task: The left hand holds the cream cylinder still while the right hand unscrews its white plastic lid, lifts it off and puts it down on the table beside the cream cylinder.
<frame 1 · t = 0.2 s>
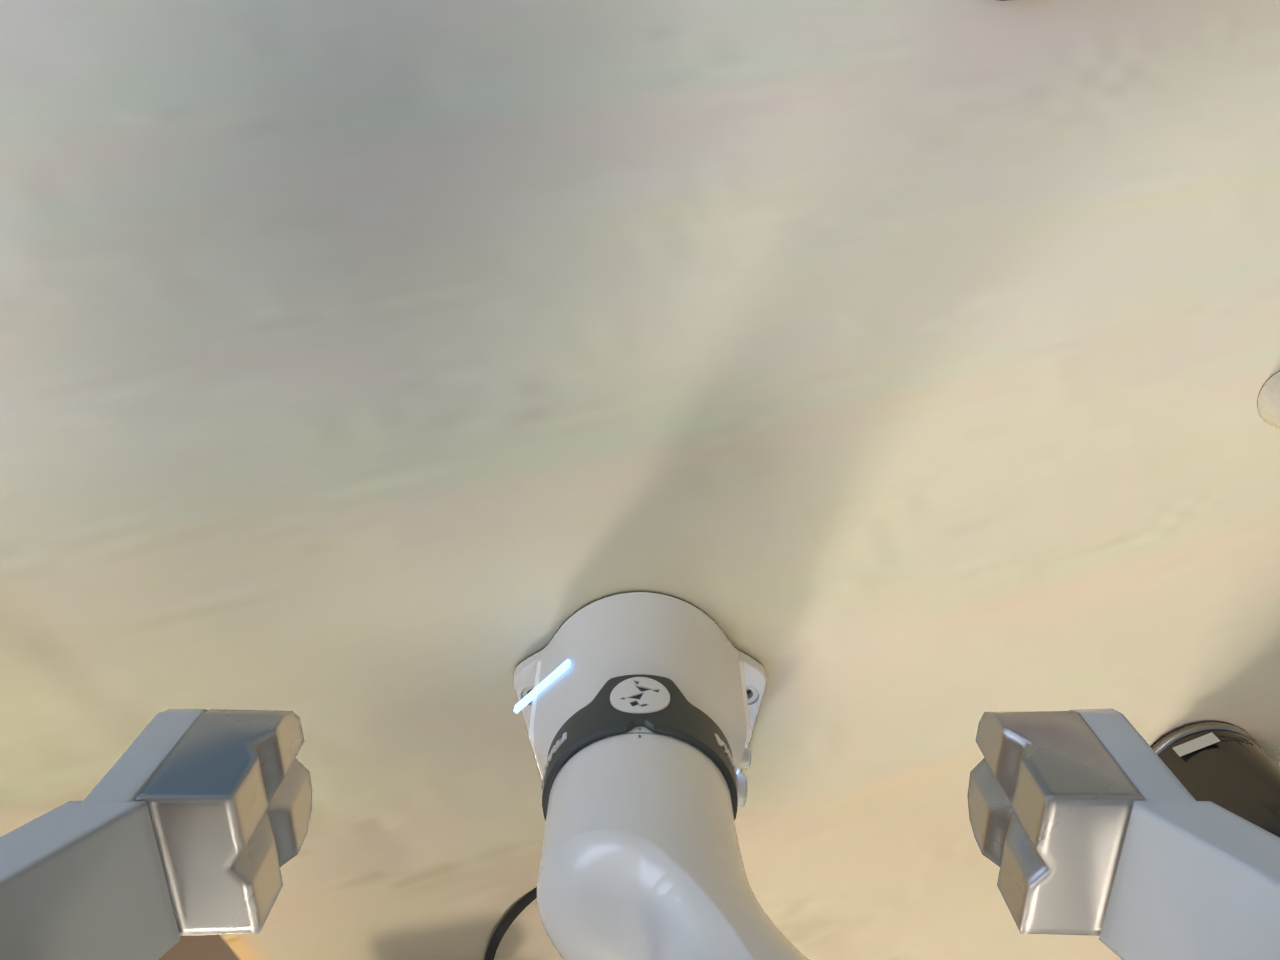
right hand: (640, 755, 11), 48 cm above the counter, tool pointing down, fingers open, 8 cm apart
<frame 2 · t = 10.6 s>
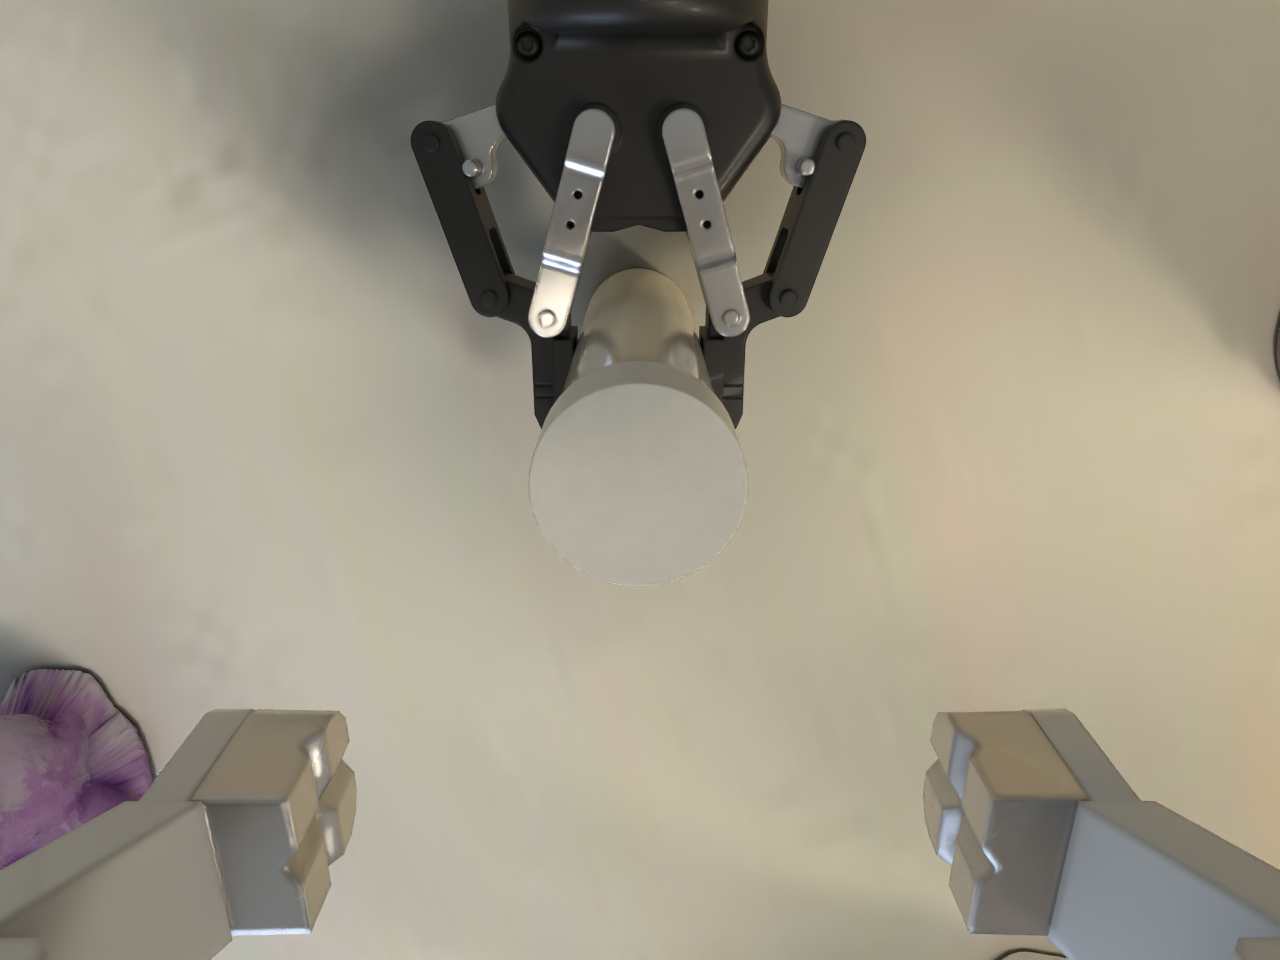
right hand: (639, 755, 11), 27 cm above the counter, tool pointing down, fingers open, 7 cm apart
cream cylinder: (638, 321, 36), on the counter, touching left hand
lid: (638, 483, 19), point 18 cm above the counter, screwed on, not yet turned
figurine: (65, 741, 43), on the counter
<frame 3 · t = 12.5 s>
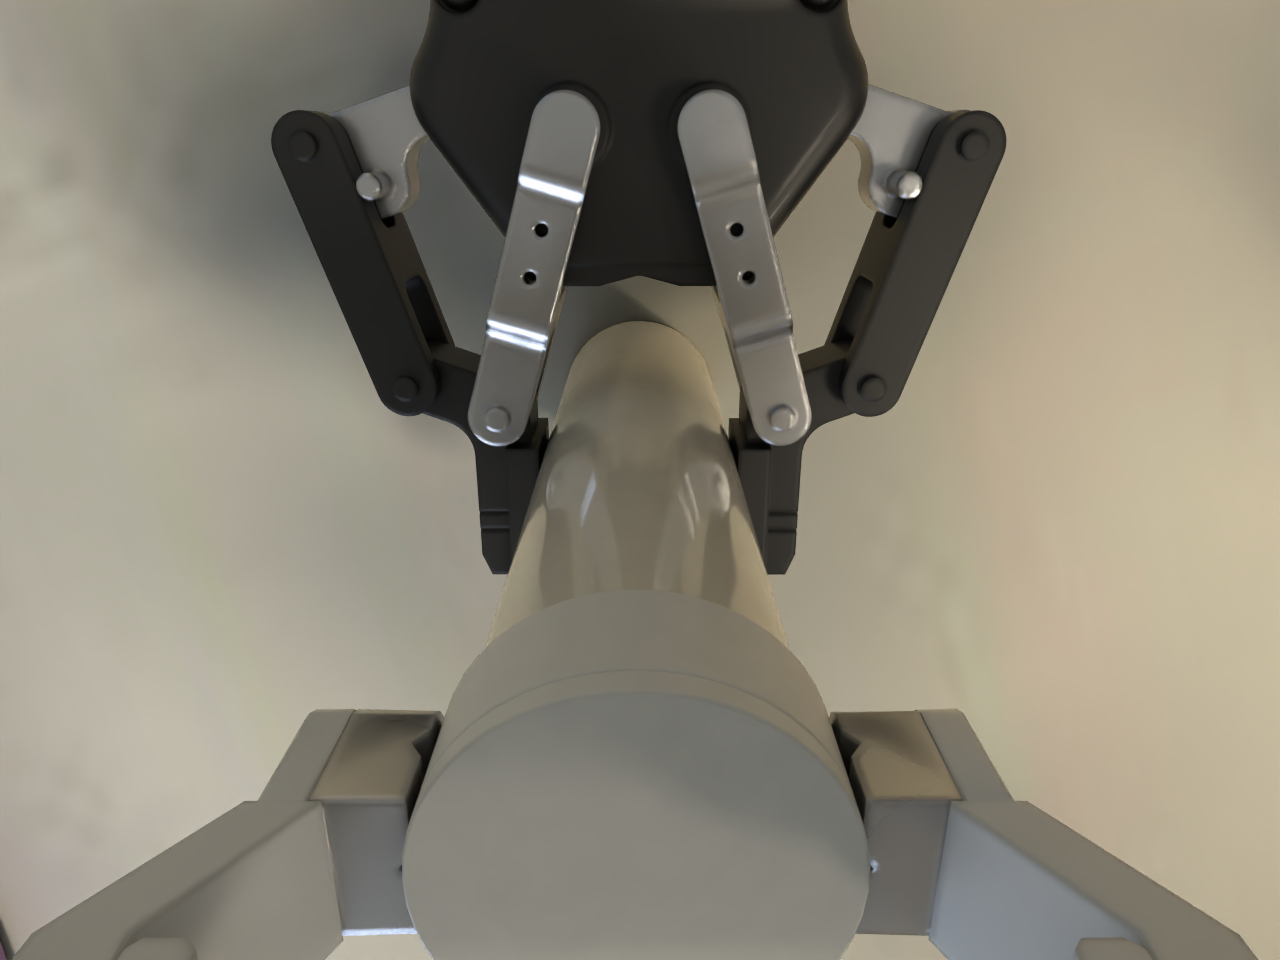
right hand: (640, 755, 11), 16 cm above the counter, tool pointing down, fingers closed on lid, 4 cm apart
left hand: (640, 579, 21), fingers closed on cream cylinder, 4 cm apart
cream cylinder: (639, 392, 26), on the counter, touching left hand
lid: (636, 861, 9), point 18 cm above the counter, screwed on, not yet turned, touching right hand
when the right hand's fingers open (16 cm above the counter, at t = 13.7 s): lid stays where it is, point 18 cm above the counter.
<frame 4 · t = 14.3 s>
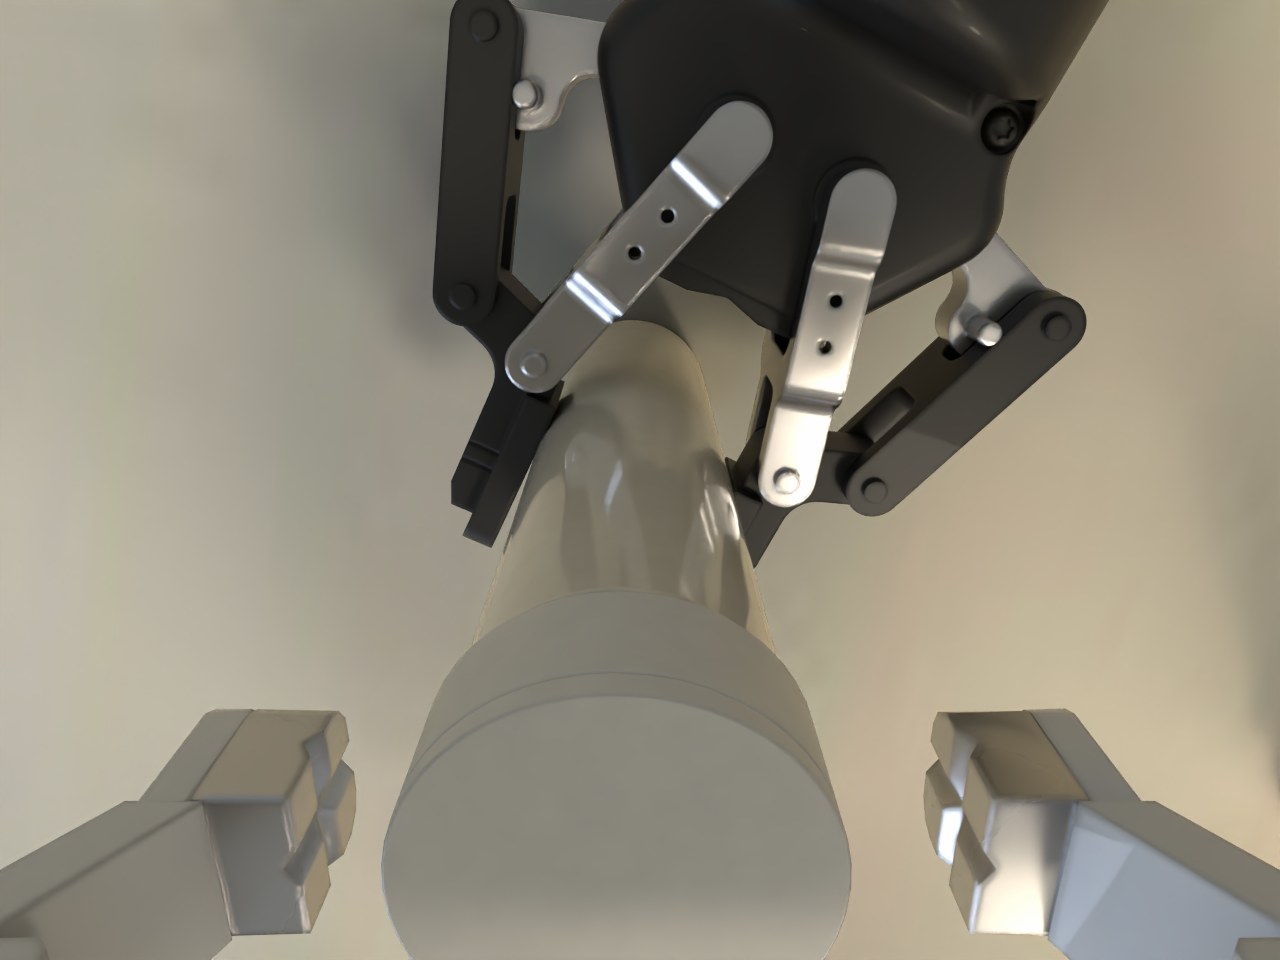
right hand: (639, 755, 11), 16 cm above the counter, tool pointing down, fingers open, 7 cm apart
cream cylinder: (632, 390, 26), on the counter, touching left hand
lid: (617, 864, 9), point 18 cm above the counter, turned 65° so far, risen 0.2 cm, still on its thread
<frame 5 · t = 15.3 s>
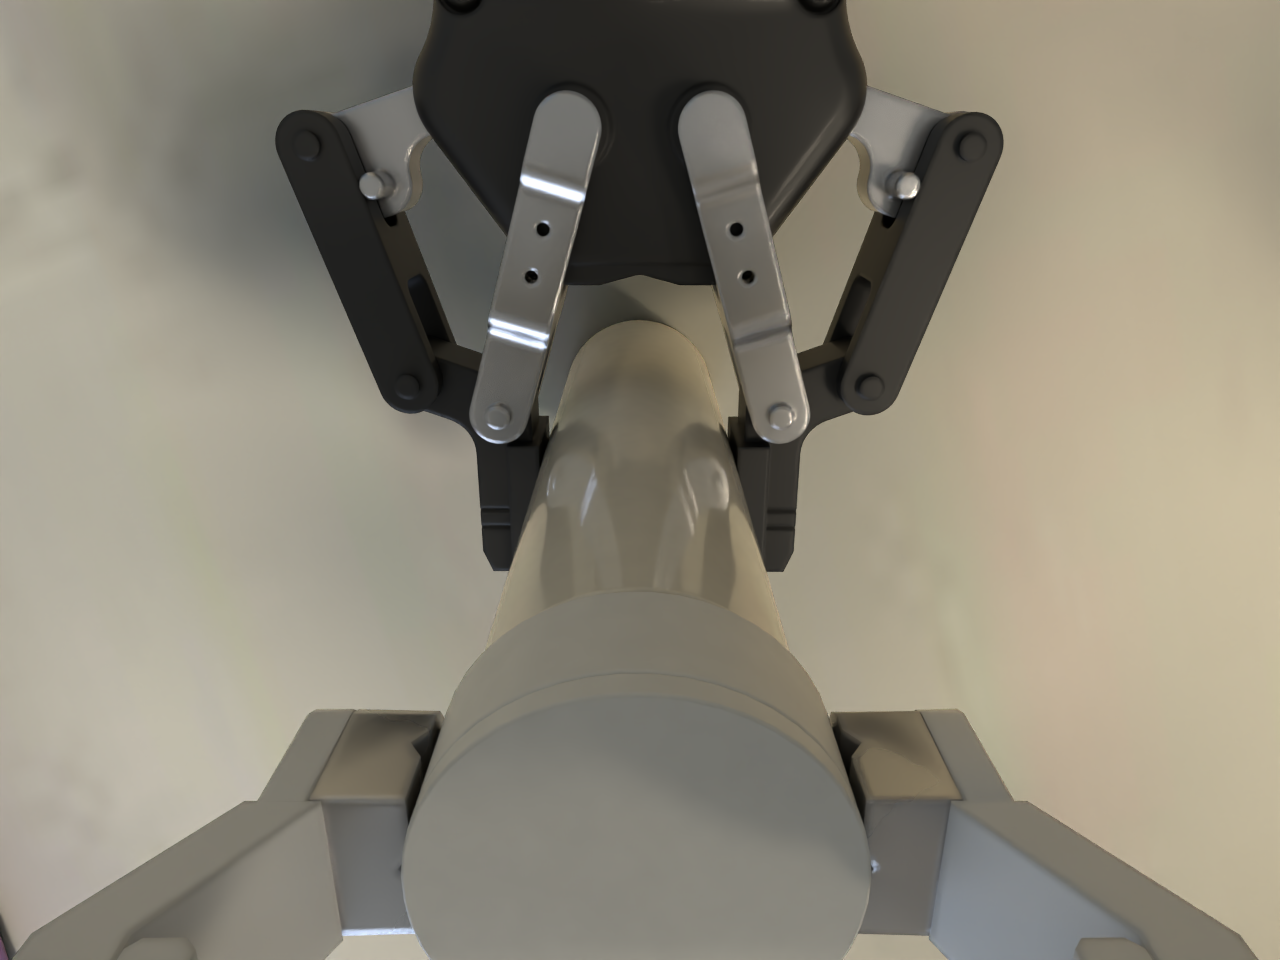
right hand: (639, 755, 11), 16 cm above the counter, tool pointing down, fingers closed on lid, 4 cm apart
cream cylinder: (638, 391, 26), on the counter, touching left hand
lid: (636, 865, 9), point 18 cm above the counter, turned 65° so far, risen 0.2 cm, still on its thread, touching right hand
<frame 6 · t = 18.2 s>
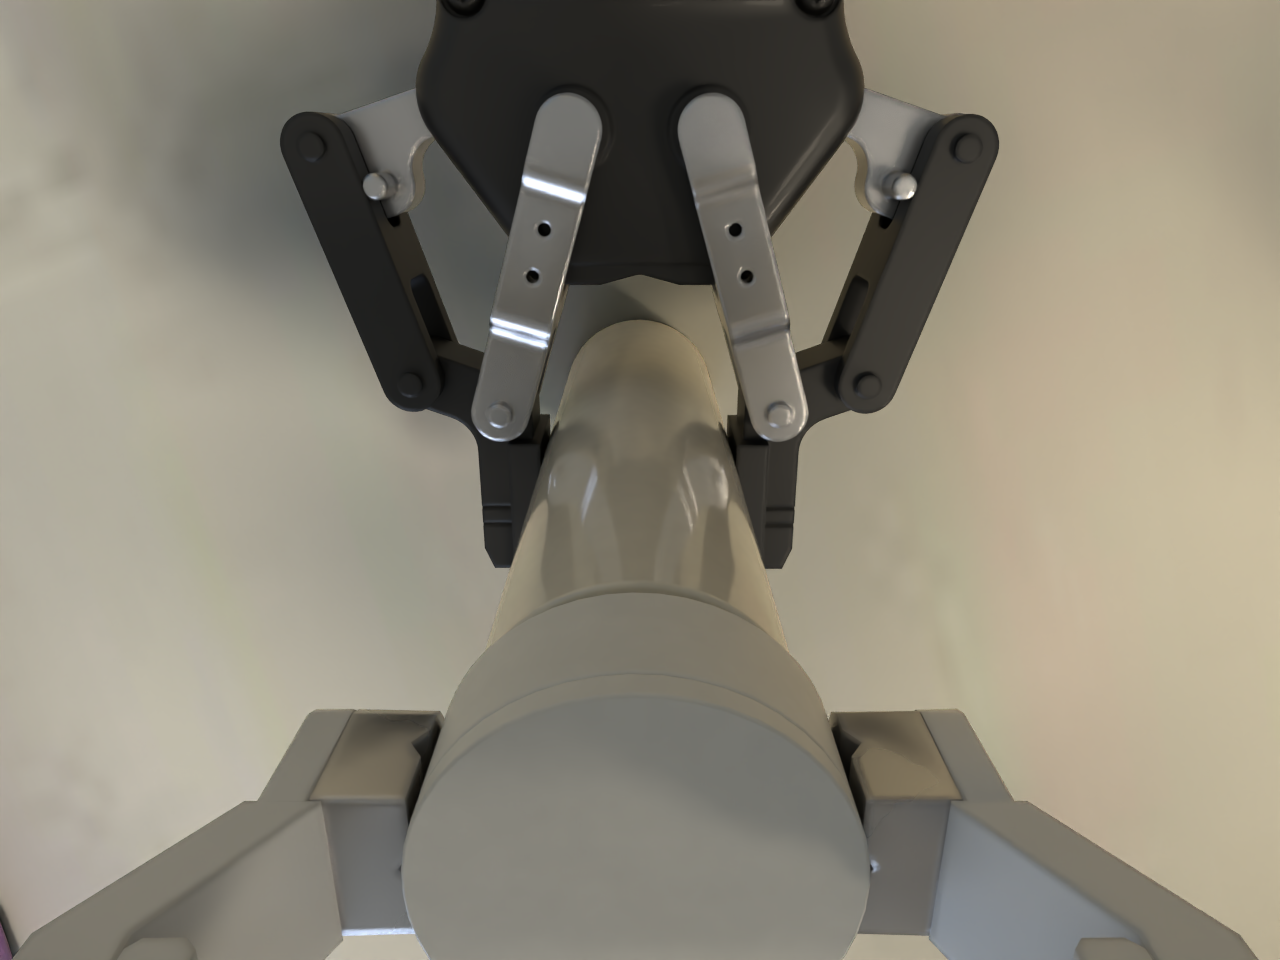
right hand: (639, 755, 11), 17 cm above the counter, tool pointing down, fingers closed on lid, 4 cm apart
cream cylinder: (639, 390, 26), on the counter, touching left hand
lid: (635, 865, 9), point 18 cm above the counter, turned 131° so far, risen 0.4 cm, still on its thread, touching right hand
when the right hand's fingers open (2 cm above the counter, at t = 25.2 s): lid drops 2 cm, point 2 cm above the counter.
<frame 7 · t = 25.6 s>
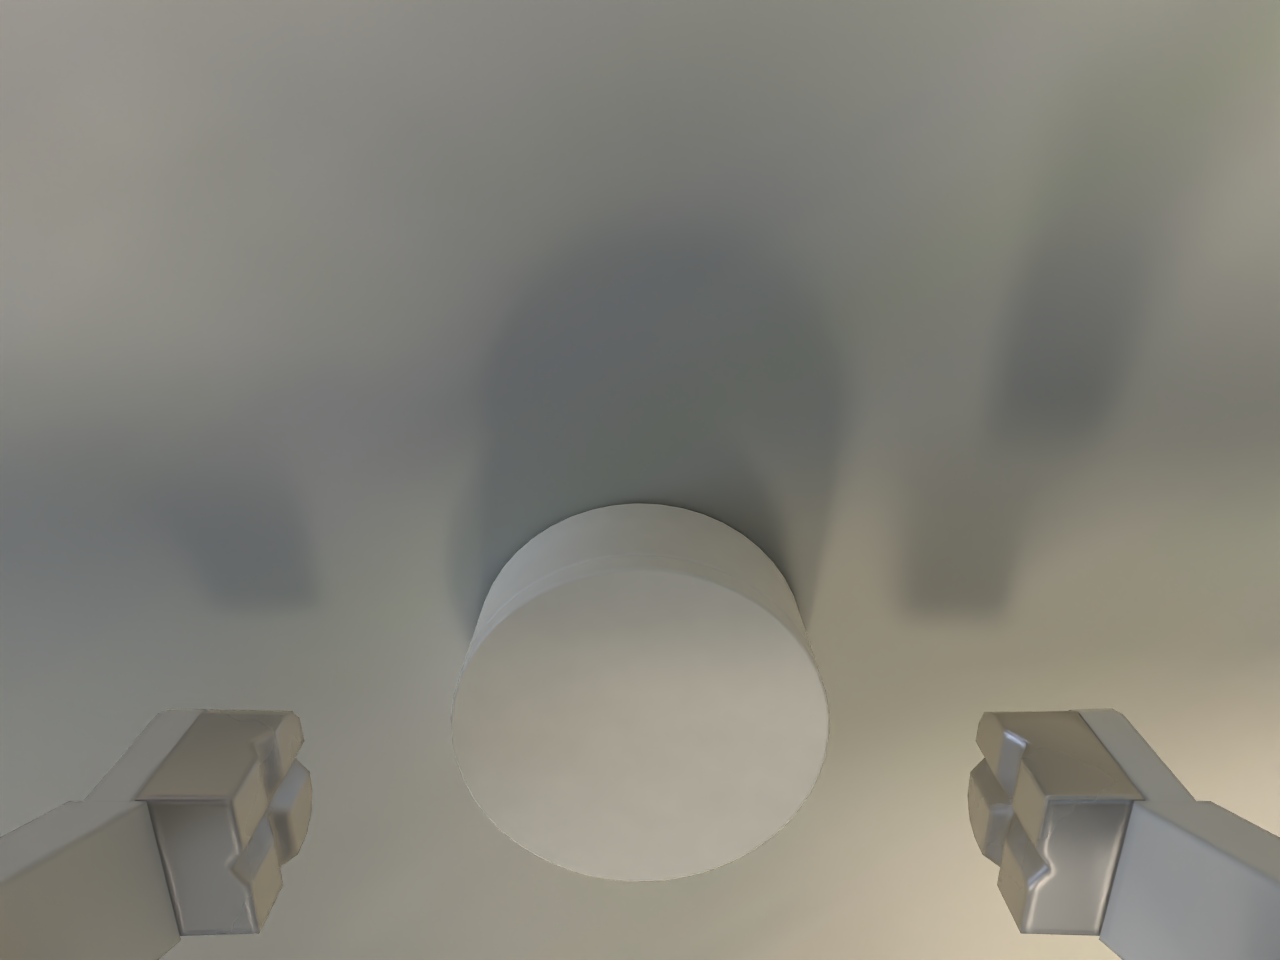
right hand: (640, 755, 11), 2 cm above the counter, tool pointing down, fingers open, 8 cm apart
lid: (640, 720, 11), point 2 cm above the counter, off its thread
when the left hand's fingers open (6 cm above the counter, at t = 26.2 s): cream cylinder stays where it is, on the counter.
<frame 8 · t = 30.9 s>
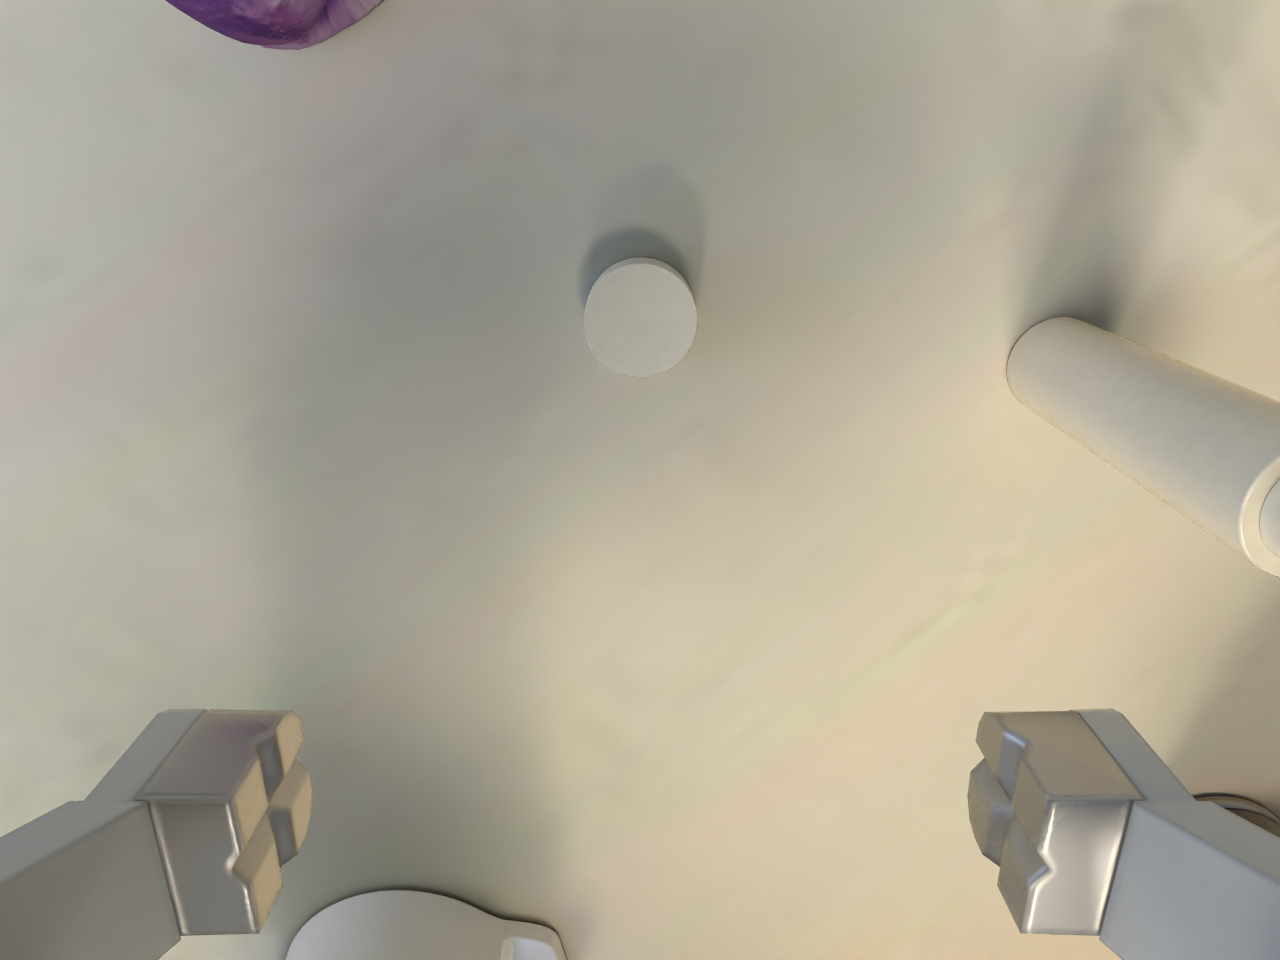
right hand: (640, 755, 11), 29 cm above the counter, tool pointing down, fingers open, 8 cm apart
cream cylinder: (1054, 364, 38), on the counter
lid: (640, 319, 36), point 2 cm above the counter, off its thread
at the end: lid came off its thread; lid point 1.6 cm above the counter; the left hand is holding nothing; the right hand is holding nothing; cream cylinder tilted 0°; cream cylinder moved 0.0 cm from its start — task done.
